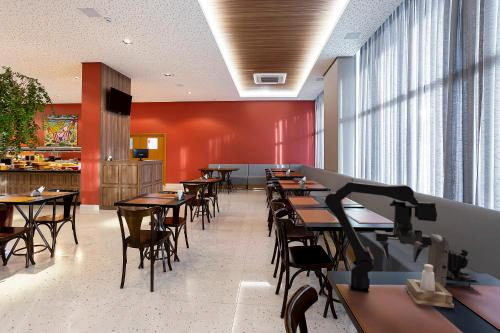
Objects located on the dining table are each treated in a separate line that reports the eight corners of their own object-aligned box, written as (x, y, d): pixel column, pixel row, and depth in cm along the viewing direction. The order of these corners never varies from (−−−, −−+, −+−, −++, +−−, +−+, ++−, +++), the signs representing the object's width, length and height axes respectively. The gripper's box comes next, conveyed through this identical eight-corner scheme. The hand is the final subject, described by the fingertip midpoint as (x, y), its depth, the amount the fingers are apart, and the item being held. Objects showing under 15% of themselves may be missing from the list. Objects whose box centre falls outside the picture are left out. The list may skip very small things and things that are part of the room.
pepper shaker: (416, 293, 105) (417, 264, 105) (422, 289, 109) (423, 261, 108) (432, 299, 101) (434, 269, 101) (438, 295, 105) (439, 265, 104)
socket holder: (415, 303, 100) (416, 292, 100) (404, 288, 112) (405, 278, 112) (454, 307, 98) (454, 296, 98) (438, 291, 110) (439, 281, 109)
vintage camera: (479, 293, 110) (484, 242, 110) (435, 287, 113) (439, 237, 113) (466, 283, 120) (470, 236, 119) (425, 277, 123) (429, 232, 122)
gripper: (380, 221, 99) (378, 266, 100) (440, 225, 95) (438, 271, 96) (373, 215, 110) (372, 255, 111) (427, 218, 106) (425, 260, 107)
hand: (400, 260), depth 106 cm, fingers open, 9 cm apart
